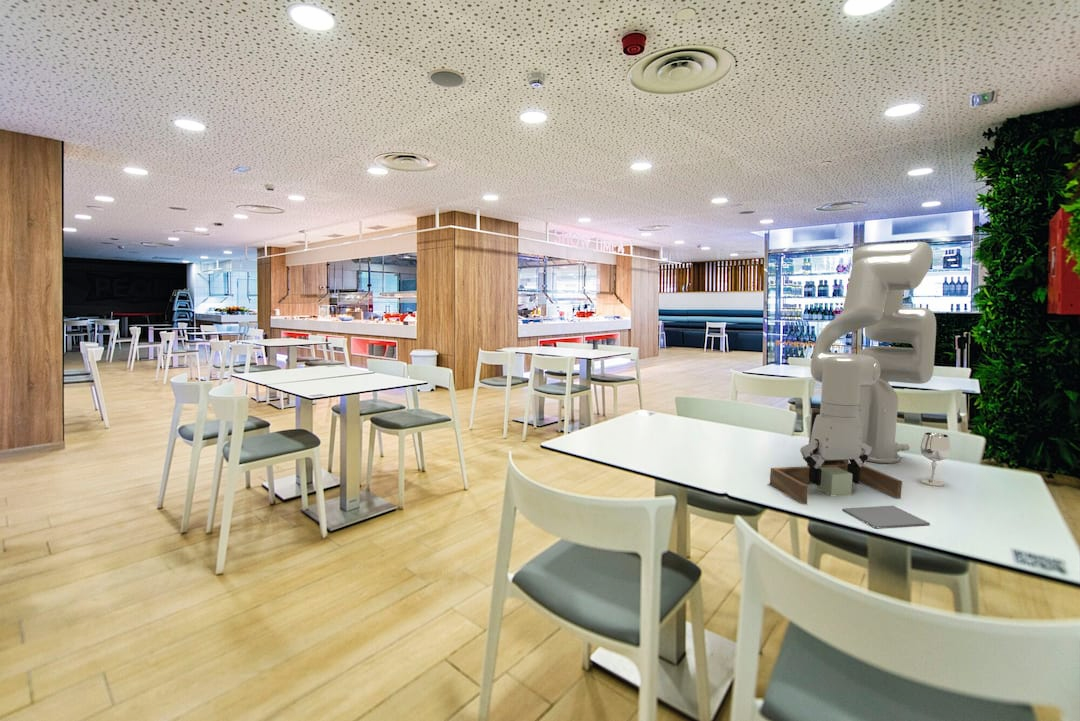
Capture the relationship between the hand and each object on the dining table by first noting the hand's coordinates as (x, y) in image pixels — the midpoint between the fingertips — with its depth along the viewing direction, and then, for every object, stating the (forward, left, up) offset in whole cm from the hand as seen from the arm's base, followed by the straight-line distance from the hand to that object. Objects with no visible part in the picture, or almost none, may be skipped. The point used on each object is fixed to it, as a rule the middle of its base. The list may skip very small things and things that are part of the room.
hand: (833, 482), depth 121 cm
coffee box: (-8, -13, -2) cm, 16 cm away
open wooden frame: (0, 0, -2) cm, 2 cm away
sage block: (0, 0, -2) cm, 2 cm away
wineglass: (-28, -2, -2) cm, 28 cm away
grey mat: (0, +15, -2) cm, 15 cm away
